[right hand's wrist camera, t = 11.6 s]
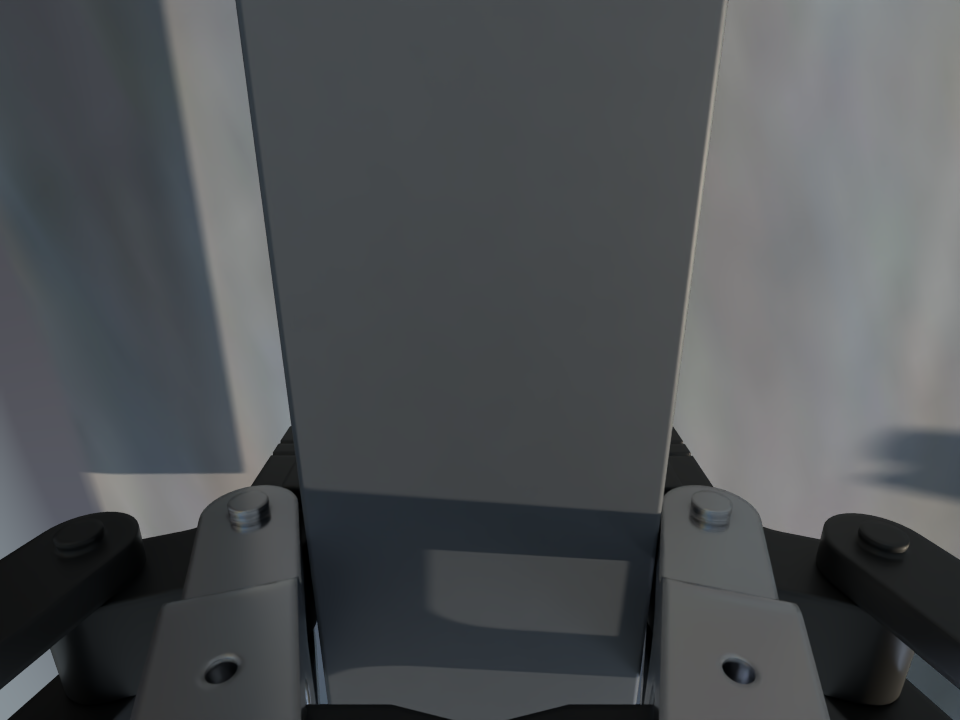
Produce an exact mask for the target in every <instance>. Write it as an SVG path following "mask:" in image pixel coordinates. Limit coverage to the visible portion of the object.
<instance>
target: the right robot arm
mask: <svg viewBox="0 0 960 720" xmlns="http://www.w3.org/2000/svg"><path fill="white" fill-rule="evenodd" d="M316 622H317V615H316V608H315V600H314V593H313V585H312V577H311V570H310V562H309V555H308V547H307V539H306V532H305V524H304V517H303V509H302V501H301V494H300V486H299V479H298V471H297V463H296V456H295V448H294V441H293V433H292V426H290V427H289V429H288V430H287V432H286V433H285V435H284V436H283V438H282V439H281V443H280V444H278V446H277V447H276V449H275V450H274V452H273V455H271V456H270V458H269V459H268V461H267V462H266V464H265V465H264V467H263V468H262V470H261V472H260V473H259V475H258V476H257V478H256V479H255V481H254V482H253V484H252V485H251V487H246V488H242V489H238V490H235V491H232V492H230V493H227V494H225V495H223V496H221V497H219V498H218V499H216V500H214V501H213V502H212V503H210V504H209V505H208V506H207V507H206V508H205V509H204V511H203V512H202V513H201V515H200V518H199V522H198V526H197V528H194V529H190V530H186V531H182V532H176V533H171V534H166V535H161V536H156V537H151V538H146V539H142V537H141V533H140V529H139V525H138V522H137V520H136V519H135V518H134V517H132V516H130V515H128V514H125V513H120V512H100V513H93V514H88V515H84V516H80V517H77V518H74V519H71V520H68V521H66V522H63V523H61V524H58V525H57V526H54V527H52V528H50V529H49V530H47V531H45V532H44V533H42V534H40V535H39V536H37V537H36V538H34V539H32V540H31V541H29V542H28V543H26V544H25V545H23V546H21V547H20V548H18V549H17V550H15V551H14V552H12V553H10V554H9V555H7V556H6V557H4V558H2V559H1V560H0V689H2V688H3V687H4V686H5V685H6V684H8V683H9V682H10V681H11V680H12V679H14V678H15V677H16V676H17V675H18V674H20V673H21V672H22V671H23V670H24V669H26V668H27V667H28V666H29V665H30V664H32V663H33V662H34V661H35V660H37V659H38V658H39V657H40V656H41V655H43V654H44V653H45V652H46V651H47V650H49V649H50V650H51V652H52V655H53V658H54V661H55V664H56V667H57V670H58V673H59V675H57V676H56V677H55V678H54V679H53V680H52V681H51V682H49V683H48V684H47V685H46V686H45V687H44V688H43V689H42V690H40V691H39V692H38V693H37V694H36V695H35V696H34V697H33V698H31V699H30V700H29V701H28V702H27V703H26V704H25V705H23V706H22V707H21V708H20V709H19V710H18V711H17V712H16V713H14V714H13V715H12V716H11V717H10V718H9V719H8V720H452V719H448V718H444V717H440V716H436V715H432V714H428V713H424V712H420V711H416V710H412V709H408V708H404V707H400V706H396V705H392V704H320V696H319V680H318V664H317V648H316V637H315V629H314V627H315V625H316ZM914 653H916V654H917V655H919V656H920V657H921V658H922V659H923V660H925V661H926V662H927V663H928V664H930V665H931V666H932V667H933V668H934V669H936V670H937V671H938V672H939V673H940V674H942V675H943V676H944V677H945V678H946V679H948V680H949V681H950V682H951V683H952V684H954V685H955V686H956V687H957V688H958V689H960V560H959V559H958V558H956V557H954V556H953V555H951V554H950V553H948V552H947V551H945V550H943V549H942V548H940V547H939V546H937V545H936V544H934V543H932V542H931V541H929V540H928V539H926V538H924V537H923V536H921V535H920V534H918V533H916V532H915V531H913V530H911V529H909V528H907V527H905V526H903V525H901V524H898V523H895V522H893V521H890V520H887V519H884V518H880V517H876V516H872V515H866V514H857V513H846V514H839V515H835V516H833V517H831V518H829V519H828V520H827V521H826V522H825V524H824V527H823V531H822V535H821V539H815V538H810V537H805V536H800V535H795V534H789V533H784V532H780V531H775V530H771V529H768V528H765V527H763V526H762V522H761V518H760V515H759V514H758V512H757V511H756V509H755V508H754V507H753V506H752V505H751V504H749V503H748V502H747V501H746V500H744V499H742V498H741V497H739V496H737V495H735V494H733V493H730V492H728V491H725V490H722V489H718V488H714V487H713V486H712V484H711V483H710V481H709V480H708V478H707V477H706V475H705V474H704V472H703V471H702V469H701V468H700V466H699V465H698V463H697V462H696V460H695V459H694V457H693V456H691V453H690V451H689V450H688V448H687V447H686V445H685V444H683V441H682V439H681V438H680V436H679V435H678V433H677V432H676V430H675V429H674V427H672V434H671V442H670V450H669V457H668V465H667V472H666V480H665V488H664V495H663V503H662V511H661V518H660V526H659V534H658V541H657V549H656V556H655V564H654V572H653V579H652V587H651V595H650V602H649V610H648V618H647V625H646V633H645V640H644V648H643V663H642V679H641V695H640V704H568V705H564V706H560V707H556V708H552V709H548V710H544V711H540V712H536V713H532V714H528V715H524V716H520V717H516V718H512V719H508V720H952V719H951V718H950V717H949V716H948V715H947V714H946V713H945V712H943V711H942V710H941V709H940V708H939V707H938V706H937V705H935V704H934V703H933V702H932V701H931V700H930V699H929V698H928V697H926V696H925V695H924V694H923V693H922V692H921V691H920V690H918V689H917V688H916V687H915V686H914V685H913V684H912V683H911V682H909V681H908V680H907V679H906V676H907V673H908V670H909V667H910V664H911V661H912V659H913V656H914Z"/></svg>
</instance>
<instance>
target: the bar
mask: <svg viewBox="0 0 960 720" xmlns="http://www.w3.org/2000/svg"><path fill="white" fill-rule="evenodd" d="M727 7H728V0H236V8H237V16H238V23H239V31H240V38H241V46H242V53H243V61H244V69H245V76H246V84H247V91H248V99H249V107H250V114H251V122H252V129H253V137H254V145H255V152H256V160H257V167H258V175H259V183H260V190H261V198H262V205H263V213H264V221H265V228H266V236H267V243H268V251H269V258H270V266H271V274H272V281H273V289H274V296H275V304H276V312H277V319H278V327H279V334H280V342H281V350H282V357H283V365H284V372H285V380H286V388H287V395H288V403H289V410H290V418H291V426H292V433H293V441H294V448H295V456H296V463H297V471H298V479H299V486H300V494H301V501H302V509H303V517H304V524H305V532H306V539H307V547H308V555H309V562H310V570H311V577H312V585H313V593H314V600H315V608H316V615H317V623H318V631H319V638H320V646H321V653H322V661H323V668H324V676H325V684H326V691H327V699H328V704H392V705H396V706H400V707H404V708H408V709H412V710H416V711H420V712H424V713H428V714H432V715H436V716H440V717H444V718H448V719H452V720H508V719H512V718H516V717H520V716H524V715H528V714H532V713H536V712H540V711H544V710H548V709H552V708H556V707H560V706H564V705H568V704H636V702H637V694H638V686H639V679H640V671H641V663H642V656H643V648H644V640H645V633H646V625H647V618H648V610H649V602H650V595H651V587H652V579H653V572H654V564H655V556H656V549H657V541H658V534H659V526H660V518H661V511H662V503H663V495H664V488H665V480H666V472H667V465H668V457H669V450H670V442H671V434H672V427H673V419H674V411H675V404H676V396H677V389H678V381H679V373H680V366H681V358H682V350H683V343H684V335H685V327H686V320H687V312H688V305H689V297H690V289H691V282H692V274H693V266H694V259H695V251H696V243H697V236H698V228H699V221H700V213H701V205H702V198H703V190H704V182H705V175H706V167H707V160H708V152H709V144H710V137H711V129H712V121H713V114H714V106H715V98H716V91H717V83H718V76H719V68H720V60H721V53H722V45H723V37H724V30H725V22H726V14H727Z"/></svg>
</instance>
